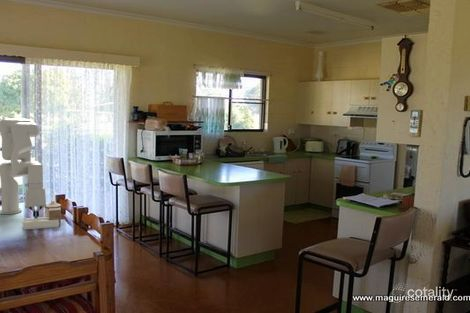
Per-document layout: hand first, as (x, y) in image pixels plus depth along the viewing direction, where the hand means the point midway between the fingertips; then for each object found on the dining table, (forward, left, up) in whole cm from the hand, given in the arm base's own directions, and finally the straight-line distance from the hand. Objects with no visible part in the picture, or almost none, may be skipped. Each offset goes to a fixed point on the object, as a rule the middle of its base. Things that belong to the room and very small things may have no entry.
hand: (36, 217), depth 235 cm
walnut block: (0, +10, -4) cm, 10 cm away
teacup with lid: (-13, +9, -5) cm, 16 cm away
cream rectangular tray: (0, +3, -5) cm, 6 cm away
